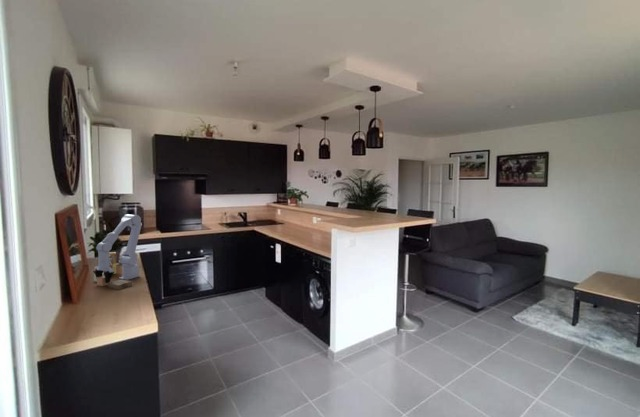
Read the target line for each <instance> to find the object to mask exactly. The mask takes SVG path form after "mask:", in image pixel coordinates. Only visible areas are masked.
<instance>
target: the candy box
mask: <svg viewBox="0 0 640 417" xmlns="http://www.w3.org/2000/svg"><path fill="white" fill-rule="evenodd" d="M109 267H110V268H112V269H113V271H114V273H113V275H116V274H117V252H116V251H114V252H113V251H112V252H110V251H109ZM104 272H107V271H103V273H104Z"/></svg>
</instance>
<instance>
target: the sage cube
mask: <svg viewBox="0 0 640 417" xmlns="http://www.w3.org/2000/svg"><path fill="white" fill-rule="evenodd" d="M102 276H104V274H102ZM93 282H96V283H97V278H96V275H95V274H94V273H93Z"/></svg>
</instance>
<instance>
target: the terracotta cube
mask: <svg viewBox="0 0 640 417" xmlns="http://www.w3.org/2000/svg"><path fill="white" fill-rule="evenodd" d="M109 283H111V281H110V282H109ZM96 285H97V286H99V287H105V286H108V283H106V282H105V276H101V277H97V282H96Z"/></svg>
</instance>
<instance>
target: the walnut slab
mask: <svg viewBox="0 0 640 417" xmlns="http://www.w3.org/2000/svg"><path fill="white" fill-rule="evenodd" d="M131 286H133V282H132V281H131V280H126V279H118V280H114V281H112V282H111V281H110V283H108V285H107V288H110V289H115V290H121V289H124V288H127V287H131Z"/></svg>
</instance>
